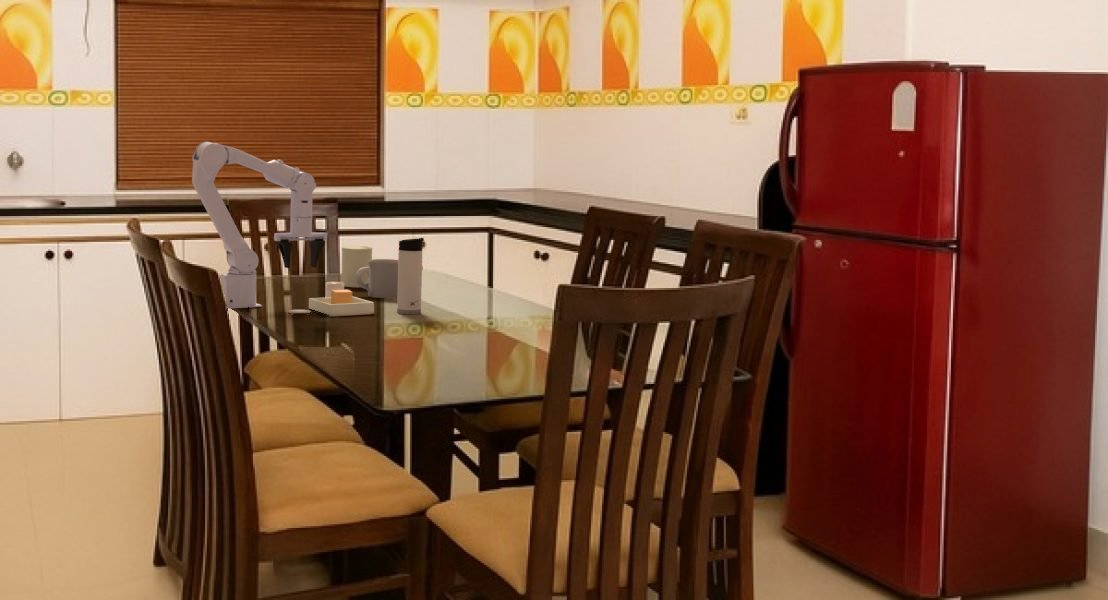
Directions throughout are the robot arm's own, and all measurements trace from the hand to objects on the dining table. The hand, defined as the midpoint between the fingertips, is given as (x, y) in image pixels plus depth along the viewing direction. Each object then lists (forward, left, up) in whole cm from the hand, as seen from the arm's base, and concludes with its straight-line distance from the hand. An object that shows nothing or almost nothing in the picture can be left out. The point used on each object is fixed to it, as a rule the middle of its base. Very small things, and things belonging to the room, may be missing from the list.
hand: (300, 267), depth 372 cm
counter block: (+5, -16, -10) cm, 19 cm away
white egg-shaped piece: (+8, -4, -10) cm, 14 cm away
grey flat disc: (-7, -14, -11) cm, 19 cm away
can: (+32, +30, -10) cm, 46 cm away
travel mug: (+20, -24, -10) cm, 33 cm away
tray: (+4, -16, -10) cm, 19 cm away
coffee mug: (+28, +8, -10) cm, 31 cm away
